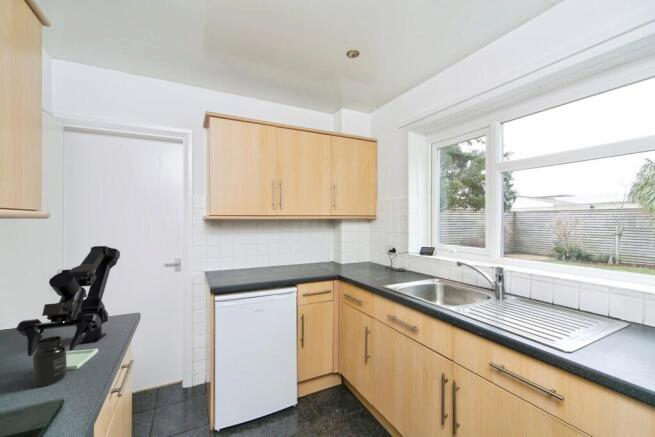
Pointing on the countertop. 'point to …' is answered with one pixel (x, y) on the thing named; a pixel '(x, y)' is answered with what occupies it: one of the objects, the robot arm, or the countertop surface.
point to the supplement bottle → (49, 362)
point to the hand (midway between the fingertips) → (50, 352)
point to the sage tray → (78, 358)
